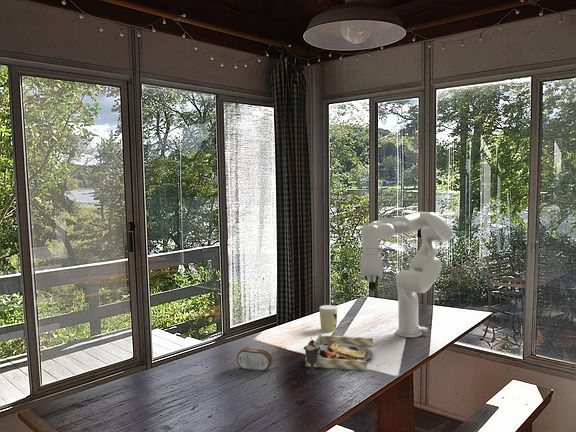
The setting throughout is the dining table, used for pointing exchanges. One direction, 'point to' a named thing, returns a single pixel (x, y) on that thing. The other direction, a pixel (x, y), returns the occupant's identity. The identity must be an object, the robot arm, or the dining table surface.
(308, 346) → the sundae
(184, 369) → the dining table surface
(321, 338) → the bay
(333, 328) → the coffee cup
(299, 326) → the dining table surface
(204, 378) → the dining table surface
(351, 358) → the food plate
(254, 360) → the tin
